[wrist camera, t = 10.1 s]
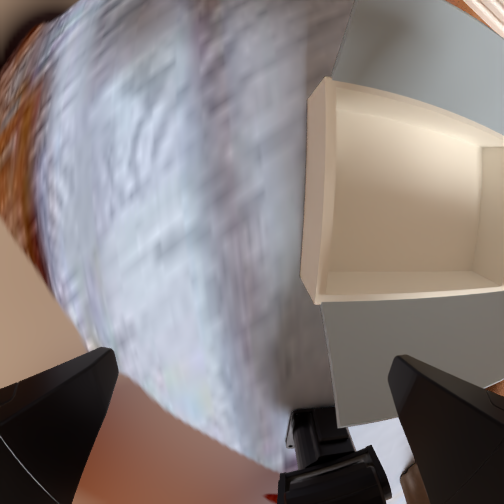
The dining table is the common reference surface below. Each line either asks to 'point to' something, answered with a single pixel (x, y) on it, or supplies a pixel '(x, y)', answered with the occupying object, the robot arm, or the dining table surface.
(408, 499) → the plant pot
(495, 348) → the flap
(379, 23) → the flap
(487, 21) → the plate stack
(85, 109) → the dining table surface
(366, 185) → the carton
